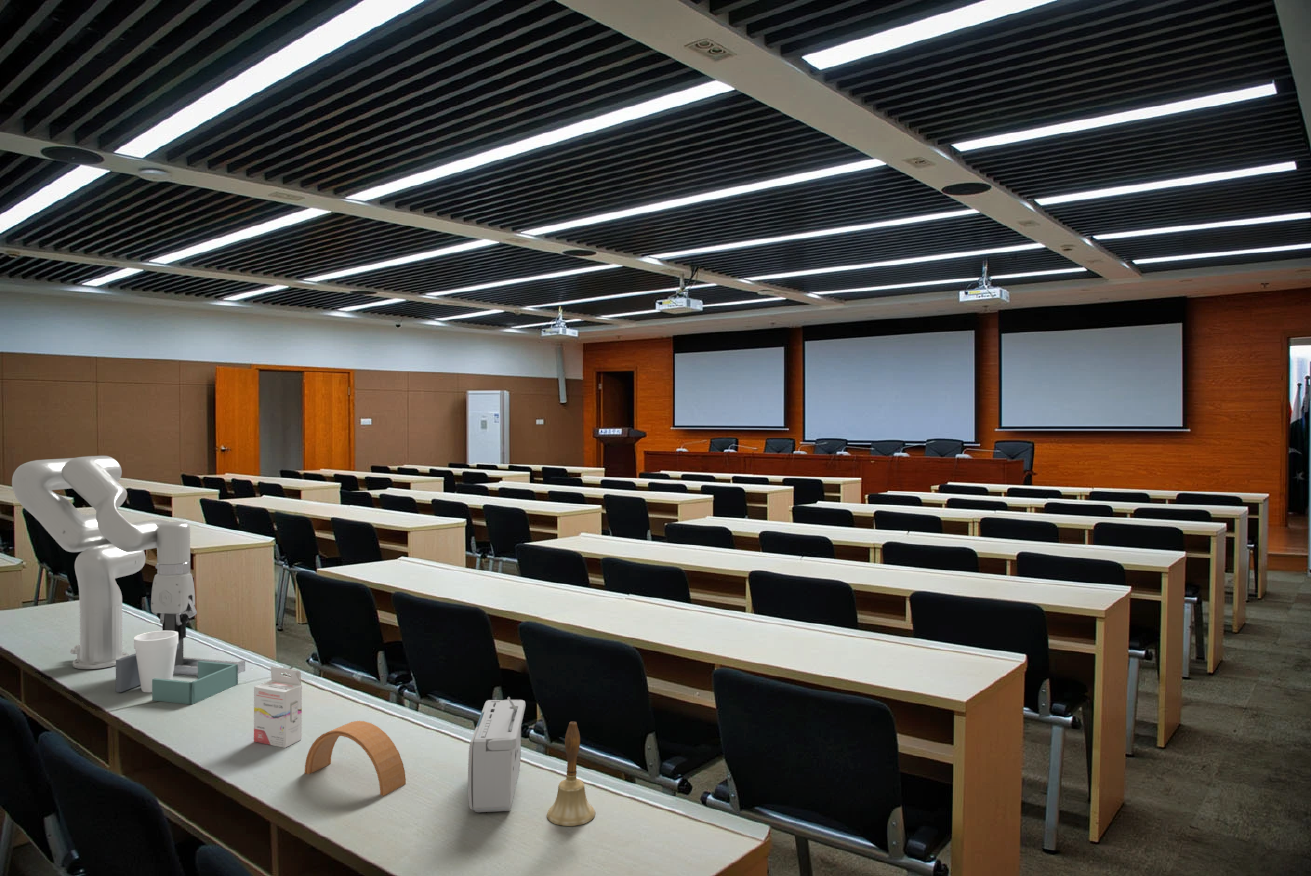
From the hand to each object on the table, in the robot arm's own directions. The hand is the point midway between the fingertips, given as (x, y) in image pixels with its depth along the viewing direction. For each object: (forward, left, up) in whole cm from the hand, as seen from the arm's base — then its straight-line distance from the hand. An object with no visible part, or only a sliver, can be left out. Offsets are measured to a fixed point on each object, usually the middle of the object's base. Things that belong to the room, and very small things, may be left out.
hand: (174, 637), depth 218 cm
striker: (+1, -9, -8) cm, 12 cm away
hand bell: (+127, -50, -9) cm, 137 cm away
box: (+19, -14, -8) cm, 25 cm away
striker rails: (+5, 0, -8) cm, 10 cm away
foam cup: (+8, -14, -8) cm, 18 cm away
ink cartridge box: (+58, -35, -9) cm, 68 cm away
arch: (+83, -47, -9) cm, 96 cm away
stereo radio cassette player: (+111, -44, -9) cm, 119 cm away
